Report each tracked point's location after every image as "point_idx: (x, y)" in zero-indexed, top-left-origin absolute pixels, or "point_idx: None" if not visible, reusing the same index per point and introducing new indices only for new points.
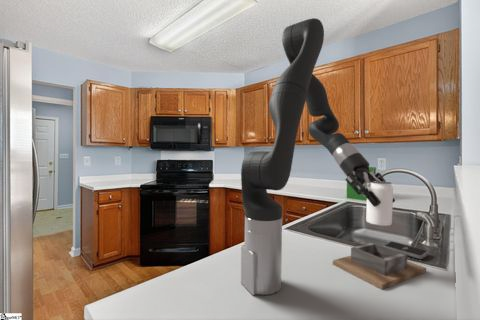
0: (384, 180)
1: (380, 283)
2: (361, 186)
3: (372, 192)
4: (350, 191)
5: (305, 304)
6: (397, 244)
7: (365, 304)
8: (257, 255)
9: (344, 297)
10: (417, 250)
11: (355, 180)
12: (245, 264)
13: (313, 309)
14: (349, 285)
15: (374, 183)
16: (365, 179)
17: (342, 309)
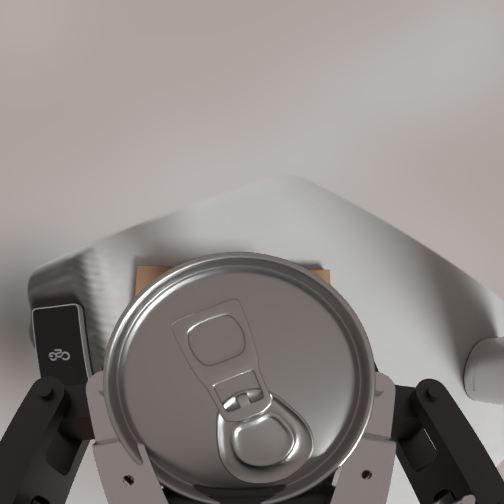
0: (10, 445)
1: (328, 273)
2: (451, 405)
3: None
4: None
5: (463, 298)
6: None
7: (393, 255)
8: None
9: (408, 286)
10: (49, 327)
11: (488, 455)
12: None
13: (460, 283)
14: (372, 313)
15: (366, 378)
16: (388, 488)
17: (430, 264)
